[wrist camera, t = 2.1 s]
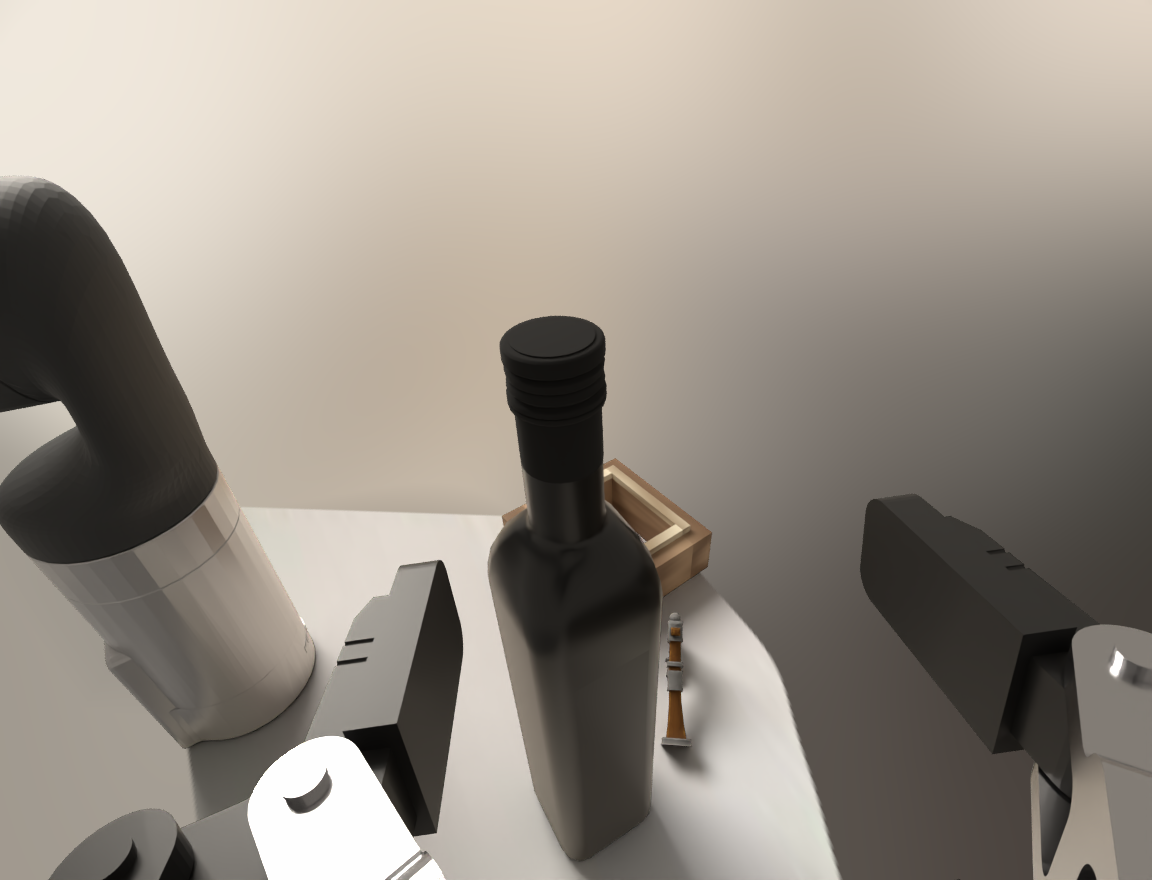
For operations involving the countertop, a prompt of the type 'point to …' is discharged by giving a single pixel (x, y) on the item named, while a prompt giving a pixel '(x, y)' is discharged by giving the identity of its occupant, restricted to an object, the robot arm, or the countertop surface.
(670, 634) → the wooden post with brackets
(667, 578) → the square wooden picture frame
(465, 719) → the countertop surface
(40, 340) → the robot arm
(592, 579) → the wine bottle
